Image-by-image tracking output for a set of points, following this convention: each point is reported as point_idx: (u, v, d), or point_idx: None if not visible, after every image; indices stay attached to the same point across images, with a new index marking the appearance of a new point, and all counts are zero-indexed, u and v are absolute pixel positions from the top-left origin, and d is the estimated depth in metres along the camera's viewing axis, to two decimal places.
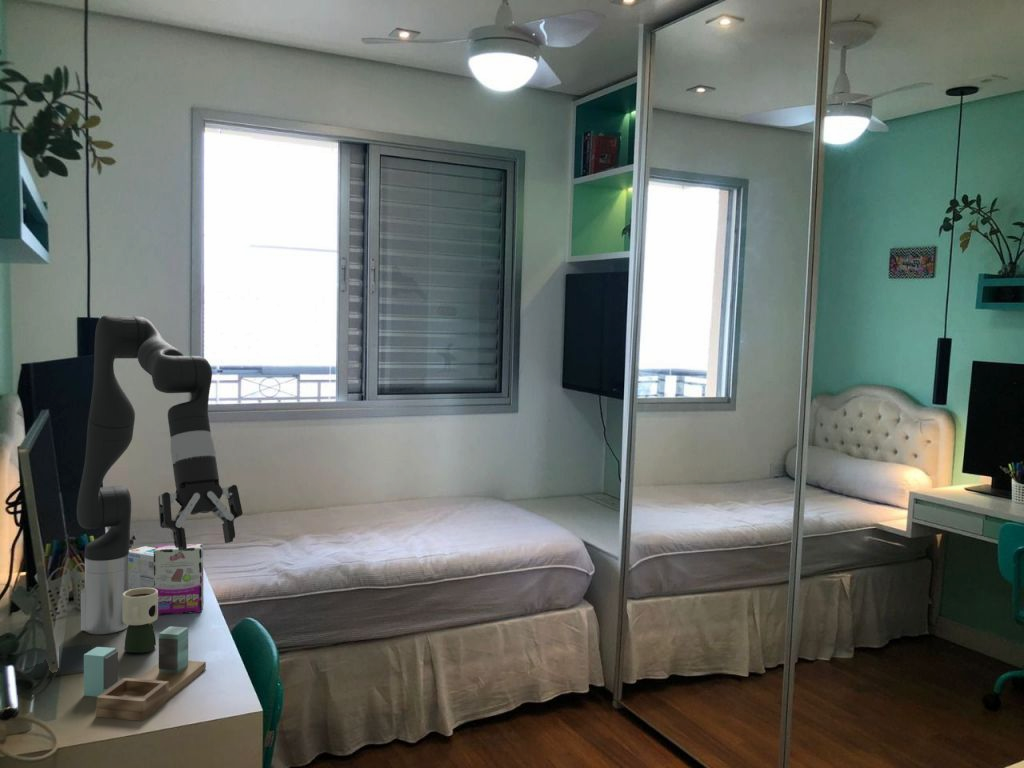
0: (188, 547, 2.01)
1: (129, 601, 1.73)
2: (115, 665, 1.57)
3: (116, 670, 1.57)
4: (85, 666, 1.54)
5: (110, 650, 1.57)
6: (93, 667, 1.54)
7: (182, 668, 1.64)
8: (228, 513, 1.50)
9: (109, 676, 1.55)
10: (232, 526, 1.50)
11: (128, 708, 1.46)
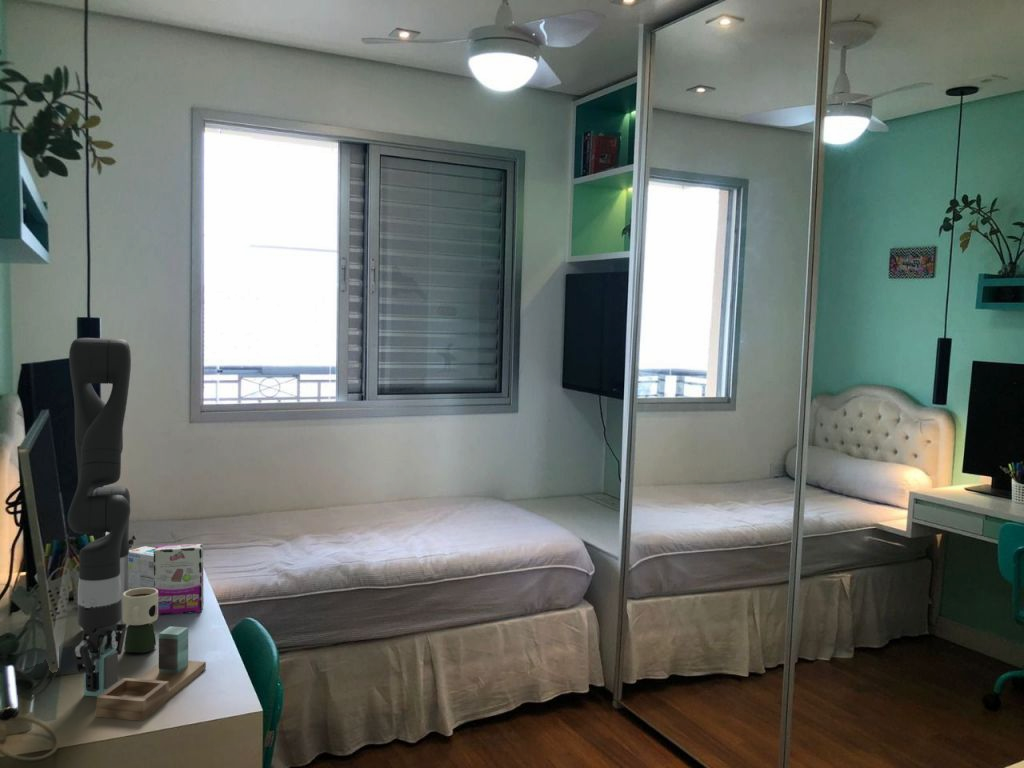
0: (188, 547, 2.01)
1: (129, 601, 1.73)
2: (115, 665, 1.57)
3: (116, 670, 1.57)
4: None
5: (109, 650, 1.57)
6: None
7: (182, 668, 1.64)
8: None
9: (109, 676, 1.55)
10: None
11: (128, 708, 1.46)
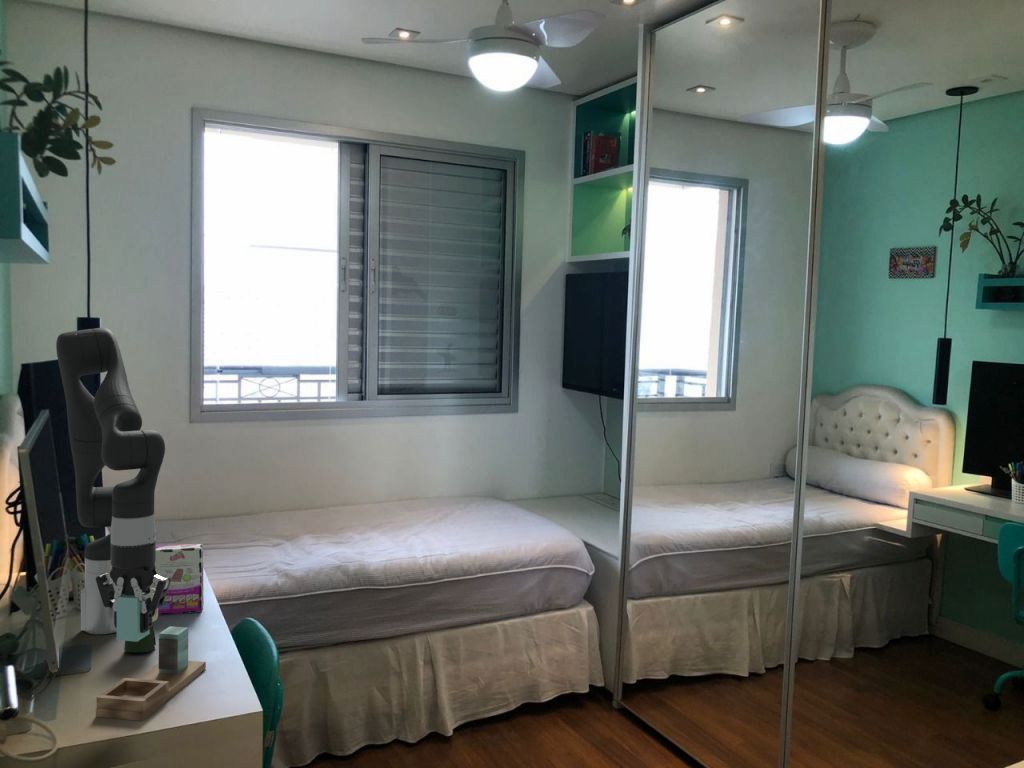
0: (188, 547, 2.01)
1: None
2: None
3: None
4: (138, 610, 1.47)
5: None
6: None
7: (182, 668, 1.64)
8: None
9: None
10: None
11: (128, 708, 1.46)
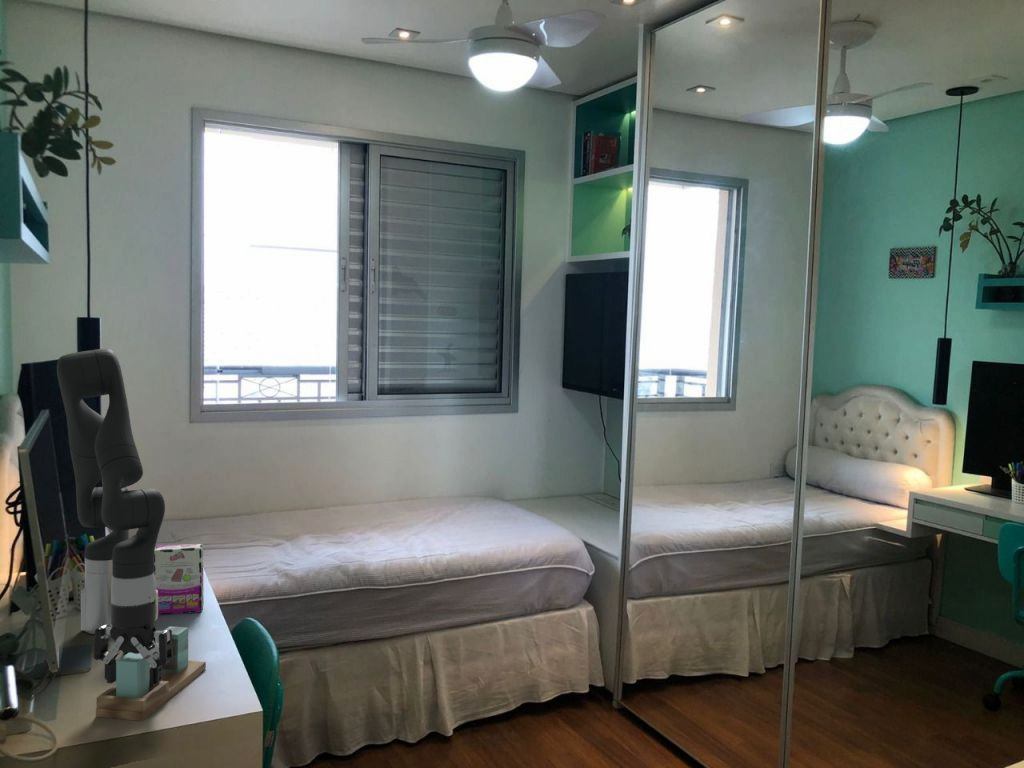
0: (188, 547, 2.01)
1: None
2: None
3: None
4: (137, 674, 1.48)
5: None
6: (142, 671, 1.50)
7: (182, 668, 1.64)
8: None
9: None
10: None
11: (128, 708, 1.46)
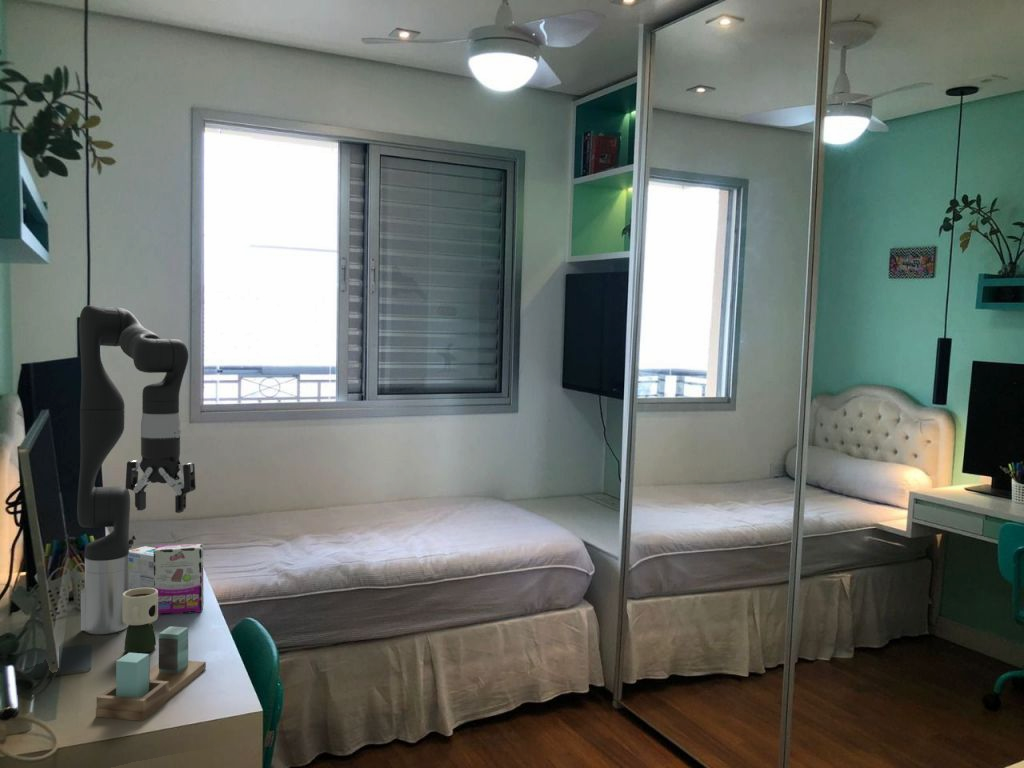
0: (188, 547, 2.01)
1: (129, 601, 1.73)
2: None
3: None
4: (137, 674, 1.48)
5: (134, 653, 1.52)
6: (142, 671, 1.50)
7: (182, 668, 1.64)
8: None
9: None
10: None
11: (128, 708, 1.46)
